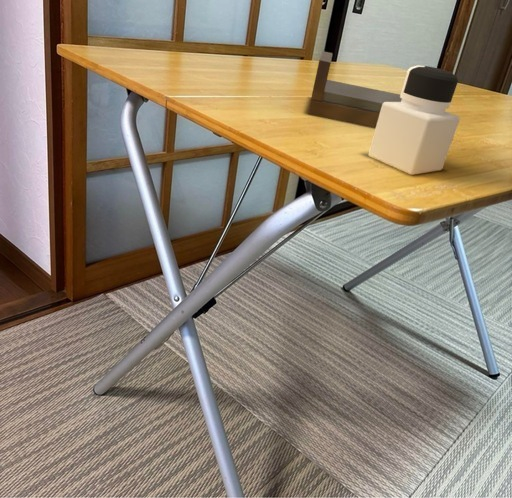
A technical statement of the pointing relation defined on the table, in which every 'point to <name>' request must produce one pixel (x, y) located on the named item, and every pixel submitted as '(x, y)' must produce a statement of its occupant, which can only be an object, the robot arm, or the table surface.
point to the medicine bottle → (417, 123)
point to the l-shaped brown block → (346, 98)
